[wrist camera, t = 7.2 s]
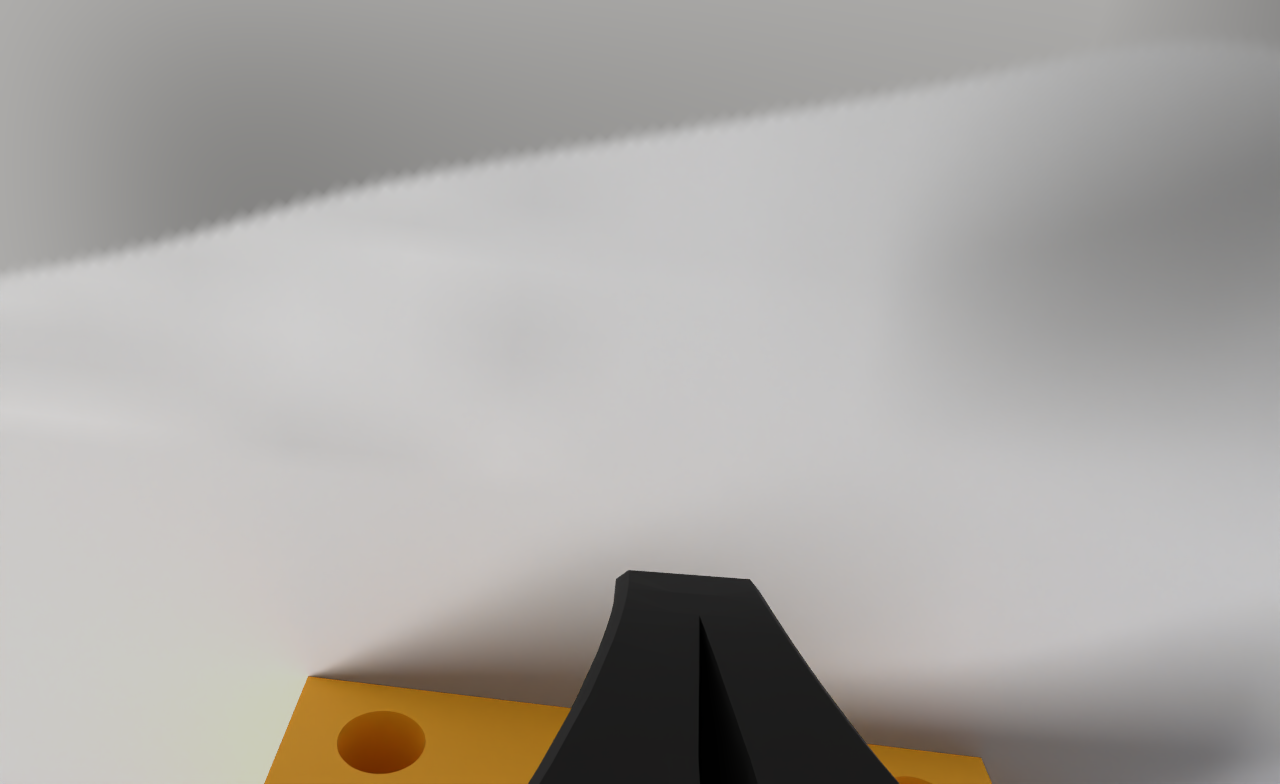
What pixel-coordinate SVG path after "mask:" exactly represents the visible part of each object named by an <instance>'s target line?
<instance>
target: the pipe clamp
mask: <svg viewBox="0 0 1280 784" xmlns="http://www.w3.org/2000/svg"><path fill="white" fill-rule="evenodd" d="M570 710H571V708H566V707H558V706H549V705H541V704H533V703H524V702H516V701H508V700H500V699H491V698H483V697H475V696H467V695H458V694H450V693H442V692H433V691H425V690H417V689H409V688H400V687H392V686H384V685H376V684H367V683H359V682H351V681H342V680H334V679H326V678H318V677H309V676H308V678H307V681H306V683H305V685H304V688H303V690H302V693H301V695H300V698H299V700H298V703H297V705H296V707H295V710H294V712H293V715H292V717H291V720H290V722H289V725H288V727H287V729H286V732H285V734H284V737H283V739H282V742H281V744H280V747H279V749H278V751H277V754H276V756H275V759H274V761H273V764H272V766H271V769H270V771H269V774H268V776H267V778H266V781H265V783H264V784H528V783H529V781H530V780H531V778H532V776H533V775H534V773H535V772H536V770H537V768H538V767H539V765H540V763H541V761H542V760H543V758H544V756H545V754H546V753H547V751H548V749H549V747H550V746H551V744H552V742H553V740H554V739H555V737H556V735H557V733H558V731H559V730H560V728H561V726H562V724H563V723H564V721H565V719H566V717H567V716H568V714H569V712H570ZM867 745H868V746H869V747H870V749H871V750H872V751H873V752H874V754H875V755H876V756H877V757H878V759H879V760H880V761H881V762H882V763H883V765H884V766H885V767H886V768H887V769H888V771H889V772H890V773H891V774H892V775H893V776H894V778H895V779H896V780H897V781H898V782H899V784H992V782H991V780H990V778H989V775H988V773H987V771H986V768H985V766H984V764H983V761H982V759H981V758H979V757H971V756H963V755H955V754H946V753H938V752H930V751H922V750H913V749H905V748H897V747H888V746H880V745H872V744H867Z"/></svg>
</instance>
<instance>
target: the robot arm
mask: <svg viewBox="0 0 1280 784" xmlns="http://www.w3.org/2000/svg"><path fill="white" fill-rule="evenodd" d="M528 784H899V782H898V781H897V780H896V779H895V778H894V776H893V775H892V774H891V773H890V772H889V771H888V769H887V768H886V767H885V766H884V765H883V763H882V762H881V761H880V760H879V759H878V757H877V756H876V755H875V754H874V752H873V751H872V750H871V749H870V747H869V746H868V745H867V744H866V742H865V741H864V740H863V739H862V737H861V736H860V735H859V734H858V732H857V731H856V730H855V728H854V727H853V726H852V724H851V723H850V722H849V720H848V719H847V718H846V716H845V715H844V714H843V712H842V711H841V710H840V708H839V707H838V706H837V704H836V703H835V702H834V700H833V699H832V698H831V696H830V695H829V694H828V692H827V691H826V690H825V688H824V687H823V686H822V684H821V683H820V682H819V680H818V679H817V677H816V676H815V675H814V673H813V672H812V670H811V669H810V667H809V666H808V665H807V663H806V662H805V660H804V659H803V657H802V656H801V654H800V653H799V651H798V650H797V648H796V647H795V646H794V644H793V643H792V641H791V640H790V638H789V637H788V635H787V634H786V632H785V631H784V629H783V628H782V626H781V624H780V623H779V621H778V620H777V618H776V617H775V615H774V614H773V612H772V610H771V609H770V607H769V606H768V604H767V603H766V601H765V599H764V598H763V596H762V595H761V593H760V592H759V590H758V589H757V588H756V586H755V585H754V584H753V583H752V582H751V580H750V579H737V578H724V577H711V576H698V575H685V574H671V573H658V572H645V571H632V570H628V571H627V572H625V573H624V574H623V575H621V576H620V577H618V578H617V579H616V585H615V594H614V603H613V608H612V612H611V615H610V619H609V622H608V625H607V628H606V631H605V633H604V636H603V639H602V642H601V644H600V647H599V650H598V652H597V655H596V657H595V659H594V661H593V663H592V665H591V668H590V670H589V672H588V674H587V676H586V679H585V681H584V683H583V685H582V687H581V689H580V692H579V694H578V696H577V698H576V700H575V702H574V704H573V706H572V708H571V710H570V712H569V714H568V716H567V717H566V719H565V721H564V723H563V724H562V726H561V728H560V730H559V731H558V733H557V735H556V737H555V739H554V740H553V742H552V744H551V746H550V747H549V749H548V751H547V753H546V754H545V756H544V758H543V760H542V761H541V763H540V765H539V767H538V768H537V770H536V772H535V773H534V775H533V776H532V778H531V780H530V781H529V783H528Z"/></svg>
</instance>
